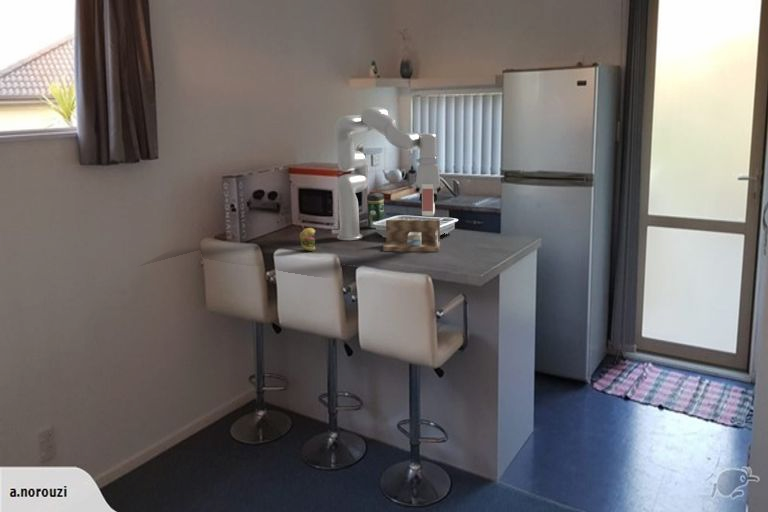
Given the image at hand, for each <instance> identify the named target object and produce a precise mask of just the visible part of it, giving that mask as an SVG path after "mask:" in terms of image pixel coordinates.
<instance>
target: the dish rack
mask: <svg viewBox="0 0 768 512" xmlns="http://www.w3.org/2000/svg"><path fill="white" fill-rule="evenodd" d="M386 220H440V236H441V235H445V236H447V235H448V234H449V232H452V230H455V224H456V223H457V222H458V221H459V219H458V218H453V217H437V216H436V217H435V216H419V215H405V214H404V215H394V216H391V217H387V218H384V219H383V220H380V221H377V222H374V223H372V224H373V225H376V228H375V232H376V233H377V234H379V235H381V236H382V238H386ZM444 233H445V234H444ZM446 234H447V235H446Z"/></svg>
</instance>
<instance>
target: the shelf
mask: <svg viewBox="0 0 768 512" xmlns="http://www.w3.org/2000/svg"><path fill="white" fill-rule="evenodd" d="M385 238H386V240H385V243H384V244H383V246H382V251H383V252H421V253H422V252H425V253H426V252H427V253H430V252H431V253H432V252H433V253H434V252H439V249H440V246H441V235H440V220H386V237H385Z"/></svg>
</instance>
